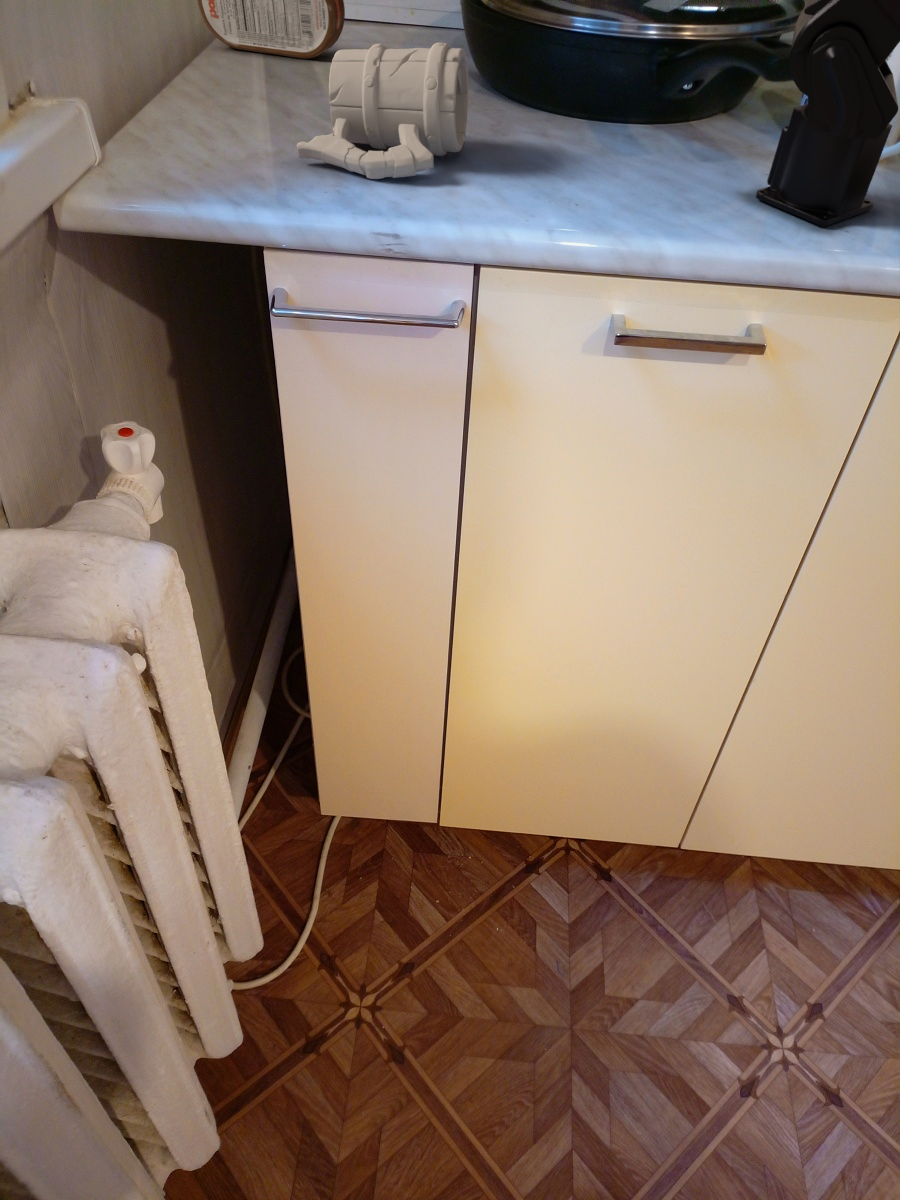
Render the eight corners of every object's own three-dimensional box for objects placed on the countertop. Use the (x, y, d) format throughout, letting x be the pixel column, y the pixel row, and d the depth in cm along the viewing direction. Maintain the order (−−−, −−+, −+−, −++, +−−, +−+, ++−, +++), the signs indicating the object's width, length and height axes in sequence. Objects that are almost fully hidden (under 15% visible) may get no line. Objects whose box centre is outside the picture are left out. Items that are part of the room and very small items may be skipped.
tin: (347, 57, 88) (344, -44, 82) (336, 65, 86) (332, -38, 80) (212, 39, 90) (199, -60, 84) (198, 47, 88) (184, -55, 82)
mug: (466, 19, 65) (313, 14, 67) (441, 132, 61) (278, 125, 62) (471, 110, 72) (333, 104, 74) (449, 217, 68) (303, 208, 69)
